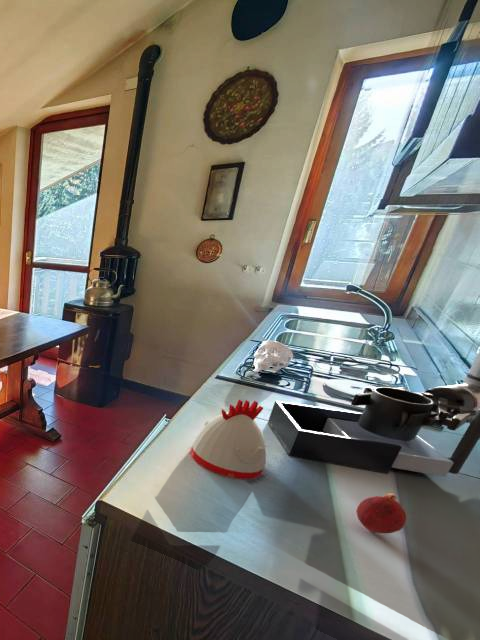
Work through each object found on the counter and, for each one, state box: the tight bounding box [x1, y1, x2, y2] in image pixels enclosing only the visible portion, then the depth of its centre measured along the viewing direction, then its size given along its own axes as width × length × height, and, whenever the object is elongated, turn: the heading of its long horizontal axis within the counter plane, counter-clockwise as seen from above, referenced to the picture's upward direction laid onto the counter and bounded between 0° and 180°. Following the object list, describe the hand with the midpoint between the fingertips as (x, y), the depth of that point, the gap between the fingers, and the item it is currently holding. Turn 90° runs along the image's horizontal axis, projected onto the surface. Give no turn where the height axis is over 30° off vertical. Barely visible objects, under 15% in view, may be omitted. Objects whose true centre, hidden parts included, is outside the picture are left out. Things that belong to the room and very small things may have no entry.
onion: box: [355, 492, 407, 534], centre depth 66 cm, size 6×6×8 cm
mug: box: [358, 386, 434, 441], centre depth 87 cm, size 9×12×9 cm
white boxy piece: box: [323, 409, 480, 477], centre depth 87 cm, size 18×15×15 cm
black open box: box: [267, 400, 402, 475], centre depth 93 cm, size 18×17×7 cm
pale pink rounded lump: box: [252, 339, 294, 373], centre depth 143 cm, size 10×14×12 cm
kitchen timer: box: [190, 399, 267, 480], centre depth 85 cm, size 14×14×15 cm
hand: (381, 410), depth 86 cm, fingers closed on mug, 10 cm apart
